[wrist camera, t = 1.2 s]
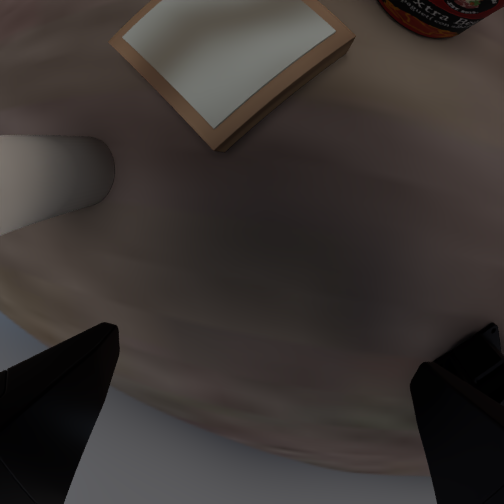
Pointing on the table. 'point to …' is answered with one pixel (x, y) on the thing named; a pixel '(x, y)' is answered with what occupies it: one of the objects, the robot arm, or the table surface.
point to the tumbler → (50, 177)
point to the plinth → (230, 57)
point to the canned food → (440, 14)
